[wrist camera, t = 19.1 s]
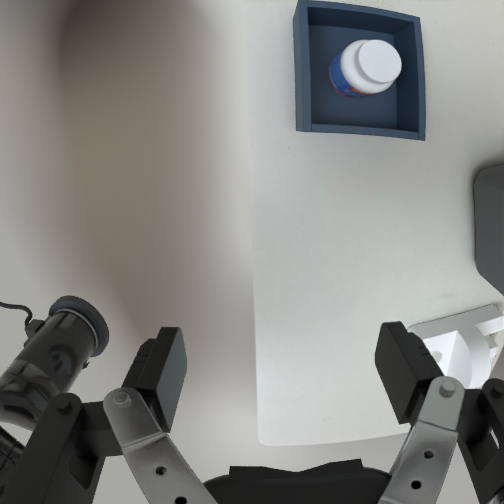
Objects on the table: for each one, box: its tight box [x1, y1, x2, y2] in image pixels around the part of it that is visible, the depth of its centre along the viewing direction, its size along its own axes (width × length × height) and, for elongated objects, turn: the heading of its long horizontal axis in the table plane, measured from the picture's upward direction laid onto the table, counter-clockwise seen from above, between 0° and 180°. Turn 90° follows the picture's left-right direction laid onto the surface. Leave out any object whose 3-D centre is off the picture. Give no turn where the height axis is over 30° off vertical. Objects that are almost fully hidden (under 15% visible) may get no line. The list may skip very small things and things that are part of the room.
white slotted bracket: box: [407, 304, 504, 389], centre depth 39 cm, size 10×18×11 cm, turn 100°
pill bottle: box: [328, 40, 401, 98], centre depth 26 cm, size 6×5×10 cm
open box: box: [293, 0, 426, 141], centre depth 28 cm, size 13×14×7 cm
